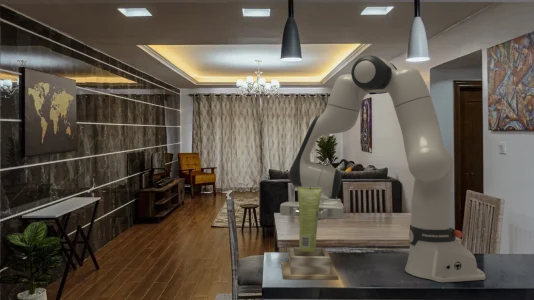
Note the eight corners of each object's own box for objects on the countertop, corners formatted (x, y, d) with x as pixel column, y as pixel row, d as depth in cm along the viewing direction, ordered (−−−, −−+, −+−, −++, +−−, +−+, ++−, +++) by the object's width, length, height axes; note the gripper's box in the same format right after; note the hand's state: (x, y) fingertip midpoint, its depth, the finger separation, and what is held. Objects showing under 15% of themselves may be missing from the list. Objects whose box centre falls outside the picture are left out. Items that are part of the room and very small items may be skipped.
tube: (306, 246, 135) (308, 185, 134) (320, 250, 132) (322, 186, 131) (295, 250, 131) (297, 186, 130) (309, 253, 127) (311, 188, 127)
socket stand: (331, 265, 138) (331, 246, 138) (338, 279, 124) (338, 258, 124) (281, 264, 138) (281, 246, 138) (283, 279, 124) (283, 258, 124)
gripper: (284, 196, 146) (275, 202, 132) (345, 199, 140) (342, 205, 127) (284, 214, 146) (274, 222, 132) (345, 218, 141) (341, 226, 127)
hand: (308, 214), depth 130 cm, fingers closed on tube, 6 cm apart
